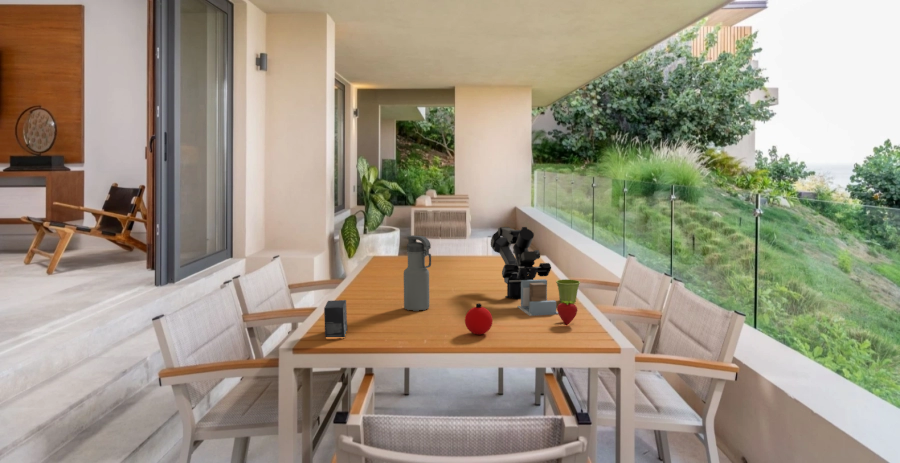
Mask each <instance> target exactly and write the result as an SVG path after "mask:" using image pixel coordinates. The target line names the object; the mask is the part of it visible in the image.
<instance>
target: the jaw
mask: <svg viewBox="0 0 900 463" xmlns="http://www.w3.org/2000/svg"><path fill="white" fill-rule="evenodd" d="M530 283H544V284H546V301H548V280H547V279H546V278H545V279H533V280H521V299H520V306H521V307H529V302H530Z"/></svg>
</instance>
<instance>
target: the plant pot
mask: <svg viewBox="0 0 900 463" xmlns="http://www.w3.org/2000/svg"><path fill="white" fill-rule="evenodd" d="M555 282H556V284H557V289H558V296H559V302H562V301H568V299H569V301H574V303H576V301H577V296H578V290H579V287H580V283H581V281H580V280H577V279H568V278H567V279H566V278H565V279H558V280H555Z"/></svg>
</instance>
